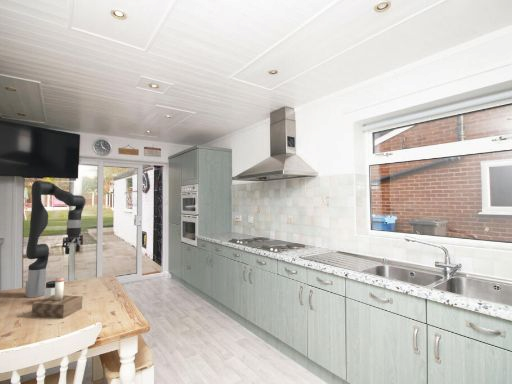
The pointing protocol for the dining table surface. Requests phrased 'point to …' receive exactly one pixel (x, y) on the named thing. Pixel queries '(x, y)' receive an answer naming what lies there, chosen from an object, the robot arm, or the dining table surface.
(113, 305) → the dining table surface
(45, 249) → the robot arm
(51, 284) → the jar
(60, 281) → the plug
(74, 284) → the dining table surface
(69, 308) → the socket block
